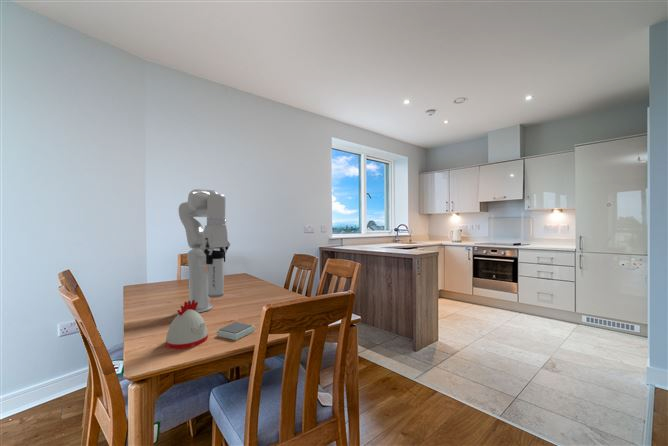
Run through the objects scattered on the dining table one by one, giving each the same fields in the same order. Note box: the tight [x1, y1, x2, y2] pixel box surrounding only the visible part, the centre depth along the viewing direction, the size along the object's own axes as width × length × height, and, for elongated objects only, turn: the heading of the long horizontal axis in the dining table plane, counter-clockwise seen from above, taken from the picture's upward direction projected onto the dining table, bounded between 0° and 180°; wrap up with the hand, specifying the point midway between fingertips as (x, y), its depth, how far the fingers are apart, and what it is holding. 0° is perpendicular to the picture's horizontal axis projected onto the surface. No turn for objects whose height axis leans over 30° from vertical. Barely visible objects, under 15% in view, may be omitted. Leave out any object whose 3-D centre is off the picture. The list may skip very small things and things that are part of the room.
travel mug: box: [207, 250, 225, 299], centre depth 122 cm, size 6×7×20 cm
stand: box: [216, 321, 255, 341], centre depth 112 cm, size 10×10×2 cm
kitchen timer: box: [165, 300, 209, 350], centre depth 105 cm, size 14×14×15 cm
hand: (215, 262), depth 122 cm, fingers closed on travel mug, 6 cm apart
